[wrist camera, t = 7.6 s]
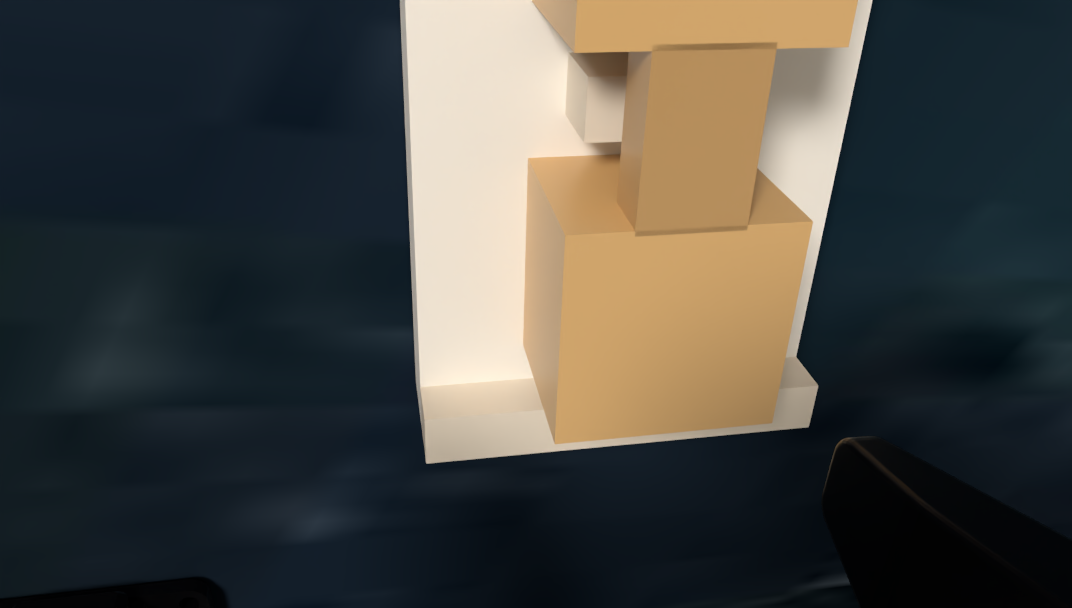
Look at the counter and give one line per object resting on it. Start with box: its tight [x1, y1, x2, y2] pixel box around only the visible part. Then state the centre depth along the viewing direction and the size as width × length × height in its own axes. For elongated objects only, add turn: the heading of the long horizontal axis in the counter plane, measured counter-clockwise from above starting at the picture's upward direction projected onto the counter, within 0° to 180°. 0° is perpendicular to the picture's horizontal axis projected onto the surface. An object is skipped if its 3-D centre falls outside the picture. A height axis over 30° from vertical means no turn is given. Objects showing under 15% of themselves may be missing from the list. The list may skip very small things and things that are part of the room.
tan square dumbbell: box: [523, 0, 858, 444], centre depth 16 cm, size 4×12×4 cm, turn 178°
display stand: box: [400, 0, 872, 464], centre depth 18 cm, size 9×16×4 cm, turn 178°
